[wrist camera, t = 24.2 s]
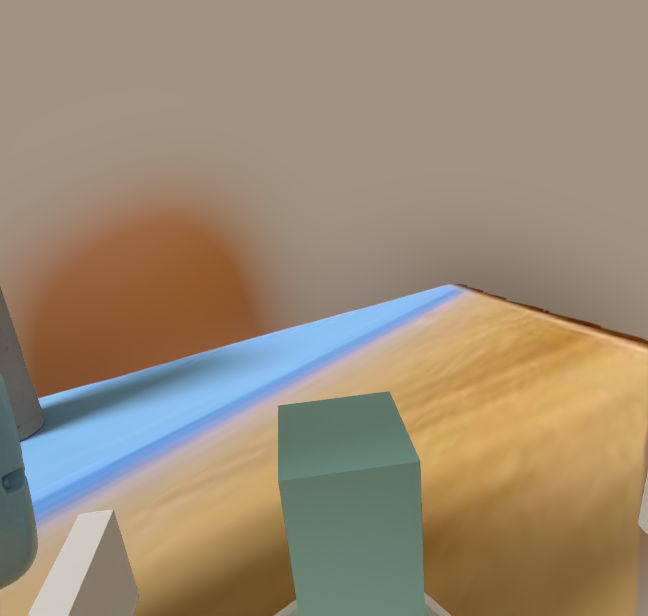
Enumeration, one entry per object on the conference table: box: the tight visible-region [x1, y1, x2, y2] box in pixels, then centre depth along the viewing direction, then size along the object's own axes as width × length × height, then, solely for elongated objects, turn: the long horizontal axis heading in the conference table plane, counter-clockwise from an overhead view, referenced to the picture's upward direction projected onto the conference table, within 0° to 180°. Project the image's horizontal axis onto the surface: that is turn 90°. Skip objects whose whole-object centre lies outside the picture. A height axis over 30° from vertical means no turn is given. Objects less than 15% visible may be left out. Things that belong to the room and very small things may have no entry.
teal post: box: [278, 392, 425, 616], centre depth 26 cm, size 6×6×18 cm
